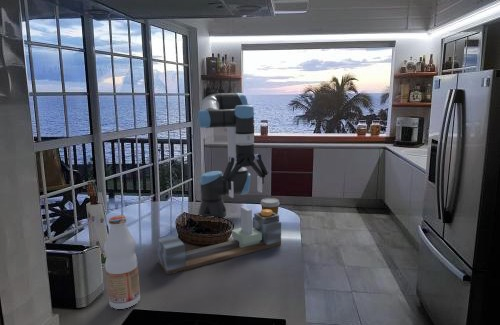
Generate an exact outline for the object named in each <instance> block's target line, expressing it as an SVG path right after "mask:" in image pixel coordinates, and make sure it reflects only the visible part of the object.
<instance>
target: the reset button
mask: <svg viewBox="0 0 500 325" xmlns="http://www.w3.org/2000/svg"><path fill="white" fill-rule="evenodd" d="M260 212H261V216H262V217H264V218H265V217H269V216H272V210H269V209H264V210H262V209H261V210H260Z"/></svg>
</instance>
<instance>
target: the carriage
mask: <svg viewBox="0 0 500 325" xmlns="http://www.w3.org/2000/svg"><path fill="white" fill-rule="evenodd" d="M231 237H232V238H233V240H234V241H235V240H237V241H239V246H240V247H241V248H242V247H246V246H250V245H254V244H258V243H260V240H262V233H261V232H259V231H258V230H256V229H254V228H253V210H252V209H251V208H249V207H247V206H245V205H244V206H240V227H239V228H235V229H232V230H231Z"/></svg>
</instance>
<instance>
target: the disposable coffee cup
mask: <svg viewBox="0 0 500 325" xmlns="http://www.w3.org/2000/svg"><path fill="white" fill-rule="evenodd" d="M280 204H281V203H280V200H279V199H278V198H275V197H266V198H263V199H261V200H260V206H261V210H264V209H269V210H272V212H273V213H275V214H277V215H279V214H278V213H279V206H280Z"/></svg>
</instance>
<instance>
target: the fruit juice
mask: <svg viewBox="0 0 500 325" xmlns="http://www.w3.org/2000/svg"><path fill="white" fill-rule="evenodd" d="M108 224H109V225H110V227H109V231H108V235H107V237H106V240H105V242H104V244H103V249H104V253H105V256H106V259H105V264H104V266H105V274H106V284H107V295H108V296H107V297H108V303H109V306H110V308H112V307H113V308H117V309H124V308H128V307H131V306H133V305H135V304H136V303H137V304H138V303H139V302H140V300H141V290H140V278H139V276H140V275H139V265H138V264H139V263H138V257H137V254H136V240H135V238H134V237H133V236H132V234H131V232H130V230H129V228H128V226H127V225H126V224H127V217H126V216H125V215H115V216H111V217H110V218H109V220H108ZM138 301H139V302H138ZM137 304H136V305H137ZM136 305H135V306H136ZM133 307H134V306H133ZM113 308H112V309H113ZM131 308H132V307H131ZM117 309H116V310H117ZM128 309H129V308H128ZM124 310H125V309H124Z"/></svg>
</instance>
